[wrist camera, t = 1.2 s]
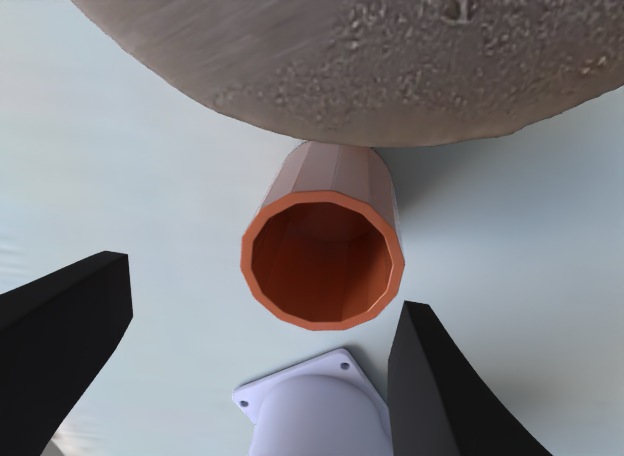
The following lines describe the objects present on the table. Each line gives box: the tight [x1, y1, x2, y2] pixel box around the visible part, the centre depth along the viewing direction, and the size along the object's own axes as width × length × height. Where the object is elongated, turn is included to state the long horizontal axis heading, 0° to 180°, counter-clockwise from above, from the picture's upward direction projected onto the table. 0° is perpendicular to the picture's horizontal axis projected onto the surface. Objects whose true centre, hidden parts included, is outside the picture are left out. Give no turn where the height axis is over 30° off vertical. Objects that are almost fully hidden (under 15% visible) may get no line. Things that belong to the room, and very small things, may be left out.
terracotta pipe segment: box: [240, 141, 405, 331], centre depth 17 cm, size 5×6×6 cm
